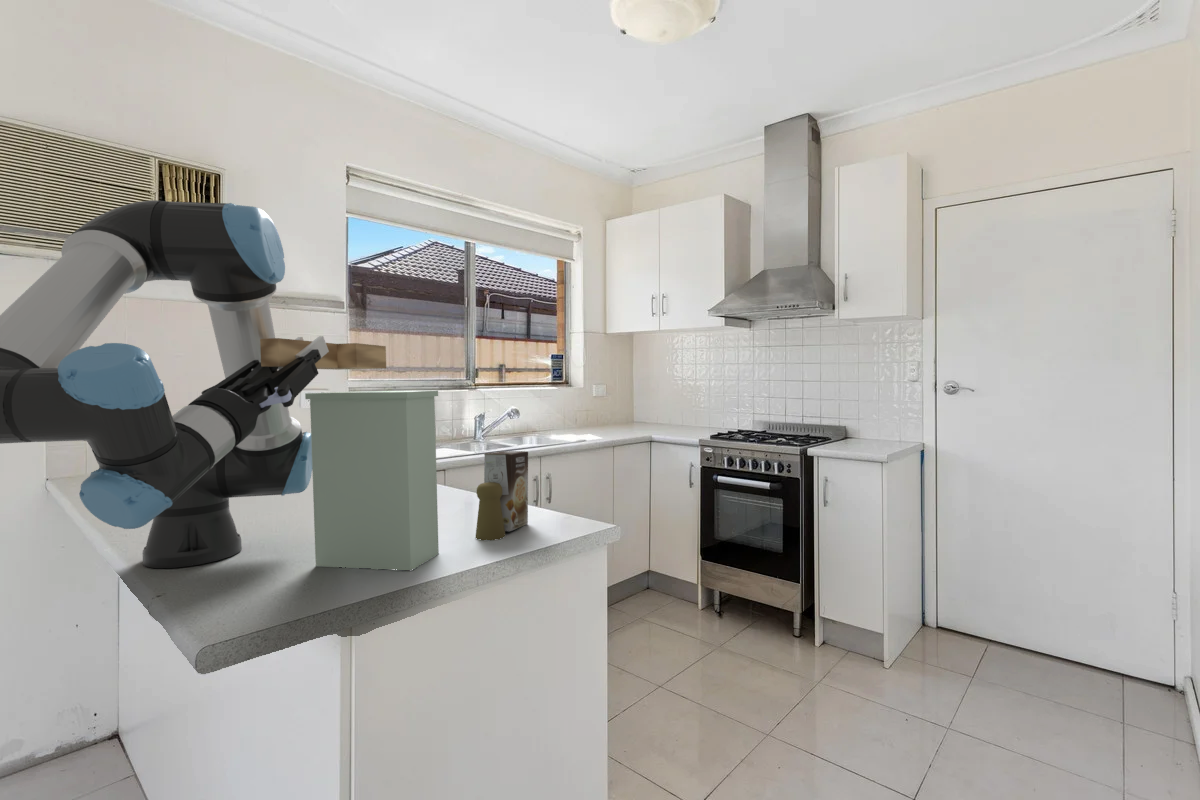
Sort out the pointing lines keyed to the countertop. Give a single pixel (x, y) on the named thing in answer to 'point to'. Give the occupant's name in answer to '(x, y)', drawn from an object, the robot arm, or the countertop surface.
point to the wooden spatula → (337, 358)
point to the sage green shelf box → (374, 478)
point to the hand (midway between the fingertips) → (313, 344)
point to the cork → (489, 512)
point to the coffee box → (510, 485)
